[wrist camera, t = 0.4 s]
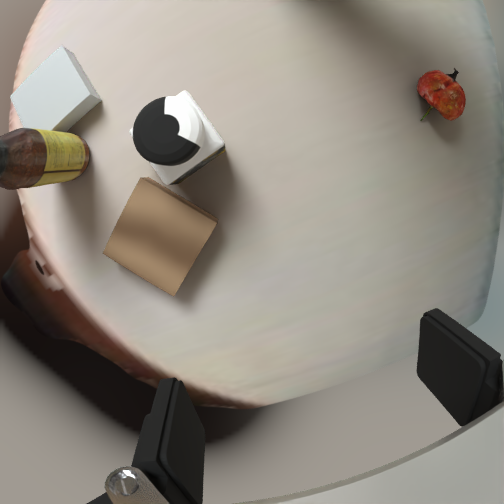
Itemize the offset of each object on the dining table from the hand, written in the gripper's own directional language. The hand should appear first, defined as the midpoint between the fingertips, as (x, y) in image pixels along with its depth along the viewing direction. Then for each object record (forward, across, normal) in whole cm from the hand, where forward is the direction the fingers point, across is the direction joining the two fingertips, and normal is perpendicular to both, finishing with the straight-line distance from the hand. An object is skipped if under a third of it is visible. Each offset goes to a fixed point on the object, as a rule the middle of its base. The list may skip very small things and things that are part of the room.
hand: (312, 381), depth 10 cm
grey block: (+28, +21, -25) cm, 43 cm away
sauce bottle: (+28, +21, -16) cm, 38 cm away
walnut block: (+28, +11, -3) cm, 30 cm away
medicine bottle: (+28, +6, -13) cm, 31 cm away
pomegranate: (+28, -29, -14) cm, 43 cm away
